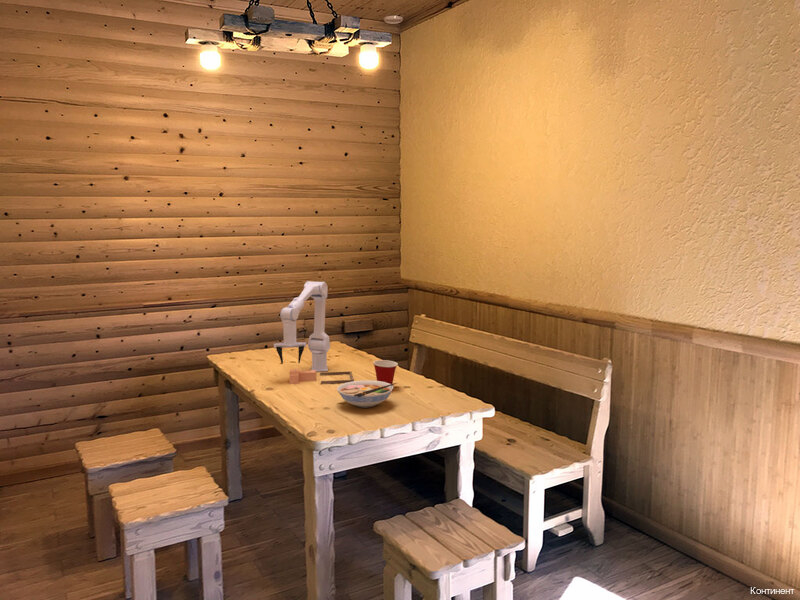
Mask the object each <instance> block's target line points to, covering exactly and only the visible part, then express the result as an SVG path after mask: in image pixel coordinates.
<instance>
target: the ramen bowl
mask: <svg viewBox="0 0 800 600" xmlns="http://www.w3.org/2000/svg"><path fill="white" fill-rule="evenodd" d="M397 384H398V382H394V383H393V384H389V383H386V382H381V381H377V380H371V379H370V380H367V379H366V380H362V379H361V380H354V381H352V382H347V383H340V385H338V386H337V387H336V390H337V392H338V394H339V395H340V396H341V398H342V399H343V400H344V401H345V402H346V403H348V404H351V405H353V406H355V407H357V408H363V409H366V408H368V409H369V408H372V407H374V406H377V405H380V404H381V403H383V402H385V401H386V400H388V399H389V397H390V395H391V393H392V391H393V390H394V385H397Z"/></svg>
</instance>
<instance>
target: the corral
mask: <svg viewBox="0 0 800 600" xmlns="http://www.w3.org/2000/svg"><path fill="white" fill-rule="evenodd" d="M343 374H346V375H349V378H350V379H342V380H341V379H339V380H338V379H337V380H320V384H321V385H332V384H333V385H334V384H335V383H338V384H344V383H347V382H352V381H355V379H354V375H353V372H352V371H351V370H350V371H321V372H319V376H343Z"/></svg>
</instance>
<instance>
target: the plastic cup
mask: <svg viewBox="0 0 800 600" xmlns="http://www.w3.org/2000/svg"><path fill="white" fill-rule="evenodd" d="M372 363H373V366H374V371H375V376H376V381H381V382H386V383H389V384H392V385H393V384H394V383H393V382H394V377H395V373H396V369H397V367H398V365H399V363H398V362H396V361H394V360H389V359H388V360H387V359H386V360H385V359H378V360H374V361H373V362H372Z"/></svg>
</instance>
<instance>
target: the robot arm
mask: <svg viewBox="0 0 800 600" xmlns="http://www.w3.org/2000/svg"><path fill="white" fill-rule="evenodd" d="M328 287H329V286H328V284H327V283H326V281H310V280H306V282H305V283H304V285H303V290H302V291H301V293H300V294H299V296H297V297H294V298H293V299H292V301H291V302H290V303H289V304H288V305H287V306H286V307H283V308H282V309H281V311H280V315H279V316H280V319H281V323H282V327H283V328H282V329H283V332H282V333H283V342H277V343H273V349H276V352H277V354H278V356H279V359H280V365H281V364H282V365H283V364H284V358H283V348H286V349H287V348H289V349H290V348H298V360H297V361H298V364H300V363H301V358H302V355H303V352H304V350H305V348H308V350H309V351H310V353H311V368H310V369H311V370H310V371H312V370H316V372H329V367H328V362H327V361H328V357H327V356H328V352H329V351H330V349H331V342H330V336H329V335H328V334H327V333H326V331H325V330H326V329H325V327H326V326H325V325H326V323H325V322H326V302H327V300H326V299H328V289H329V288H328ZM309 298H312V299H313V300H314V316H313V317H314V320H313V322H314V323H313V333H311V334H310V335H309V336H308V337H309V339H308V342H307V341H306V342H305V341H303V342H299V341H298V342H297V320H298V319H299V315H300V312H301V310H302V309H303V308H304V307H305V302H306V301H307V300H308V299H309Z"/></svg>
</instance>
